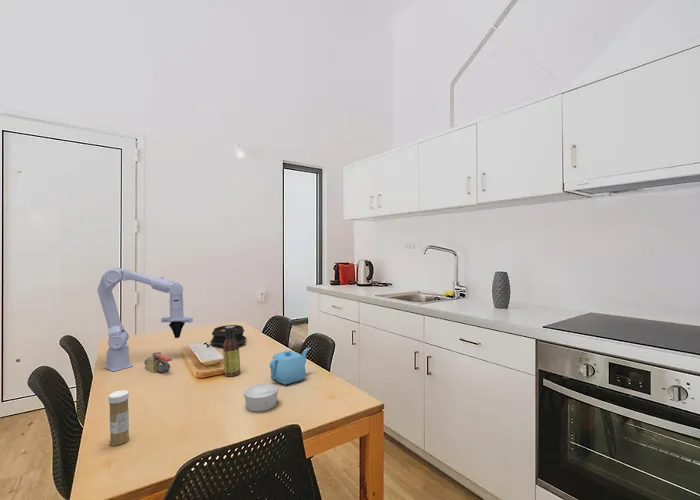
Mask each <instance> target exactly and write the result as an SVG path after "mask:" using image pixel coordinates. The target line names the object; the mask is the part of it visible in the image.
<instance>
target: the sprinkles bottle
mask: <svg viewBox="0 0 700 500" xmlns="http://www.w3.org/2000/svg"><path fill="white" fill-rule="evenodd" d="M108 403H109V435H110V440H109V444H110V446H113V447H115V446H117V447H118V446H120V445H124V444H125V443H127V442H129V440H130V435H129V434H130V433H129V432H130V431H129V430H130V429H129V428H130V417H129V391H128V390H117V391H114V392H112V393H111V392H110V394H109V395H108Z"/></svg>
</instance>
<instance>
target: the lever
mask: <svg viewBox="0 0 700 500" xmlns="http://www.w3.org/2000/svg"><path fill="white" fill-rule="evenodd" d="M152 357H157V358H159V359H161V360H163V361H166V362H172V361H173V359H172V357H170V356H167V355H165V354H163V353H162V352H159V351H158V352H153V353H152Z"/></svg>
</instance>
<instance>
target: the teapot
mask: <svg viewBox="0 0 700 500" xmlns="http://www.w3.org/2000/svg"><path fill="white" fill-rule="evenodd" d="M310 349H311V348H310V347H307V348H305V349H304V350H303V351H302V354H300V353H298V352H297V351H294V350H290V349H286V350H283V352H278V353H274V354H273V356H272V359H271V361H270V362H269V368H270V379H272V380H274V381H276V382H277V383H280V384H282V385H288V384H291V383H295V382H300V381H301V380H304V379H305V377H306V374H307V373H306V371H307V370H306V366H305V365H306V363H307V354H308V351H310Z"/></svg>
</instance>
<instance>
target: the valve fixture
mask: <svg viewBox="0 0 700 500" xmlns="http://www.w3.org/2000/svg"><path fill="white" fill-rule="evenodd" d="M144 366H145V367H146V371H148V372H150V373H152V374H157V373H163V374H165V373H168V372H169V371H170V368H171V365H170V363H168V362H166V361H163V360H161V359H159V358H157V357H153V356H150V357H146V359H145V360H144Z"/></svg>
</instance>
